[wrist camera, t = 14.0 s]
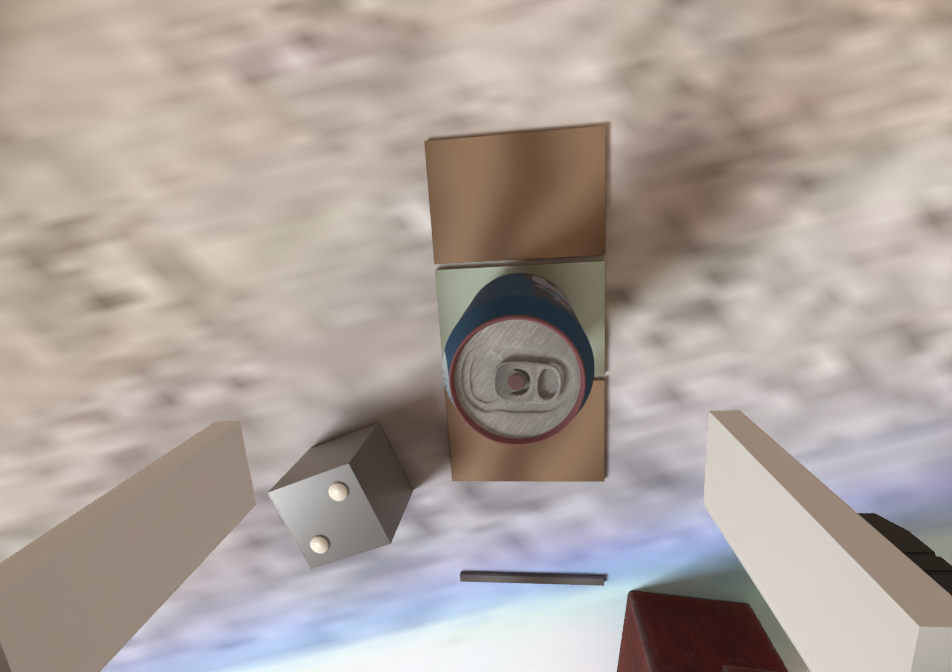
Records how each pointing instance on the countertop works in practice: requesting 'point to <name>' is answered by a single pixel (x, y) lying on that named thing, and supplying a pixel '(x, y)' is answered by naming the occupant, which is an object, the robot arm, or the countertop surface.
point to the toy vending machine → (693, 636)
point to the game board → (524, 237)
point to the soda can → (518, 361)
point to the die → (343, 496)
